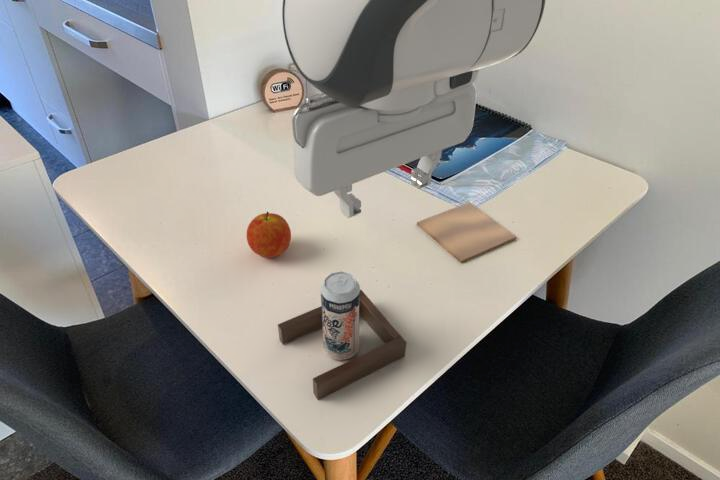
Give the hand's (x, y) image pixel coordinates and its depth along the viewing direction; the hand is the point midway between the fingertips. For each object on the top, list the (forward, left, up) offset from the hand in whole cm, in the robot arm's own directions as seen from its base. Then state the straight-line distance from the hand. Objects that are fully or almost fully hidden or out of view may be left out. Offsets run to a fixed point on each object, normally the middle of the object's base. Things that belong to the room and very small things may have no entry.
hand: (386, 198), depth 57 cm
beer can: (+1, +5, -23) cm, 24 cm away
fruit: (+24, +5, -23) cm, 34 cm away
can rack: (+1, +5, -23) cm, 24 cm away
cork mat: (+12, -26, -23) cm, 37 cm away
